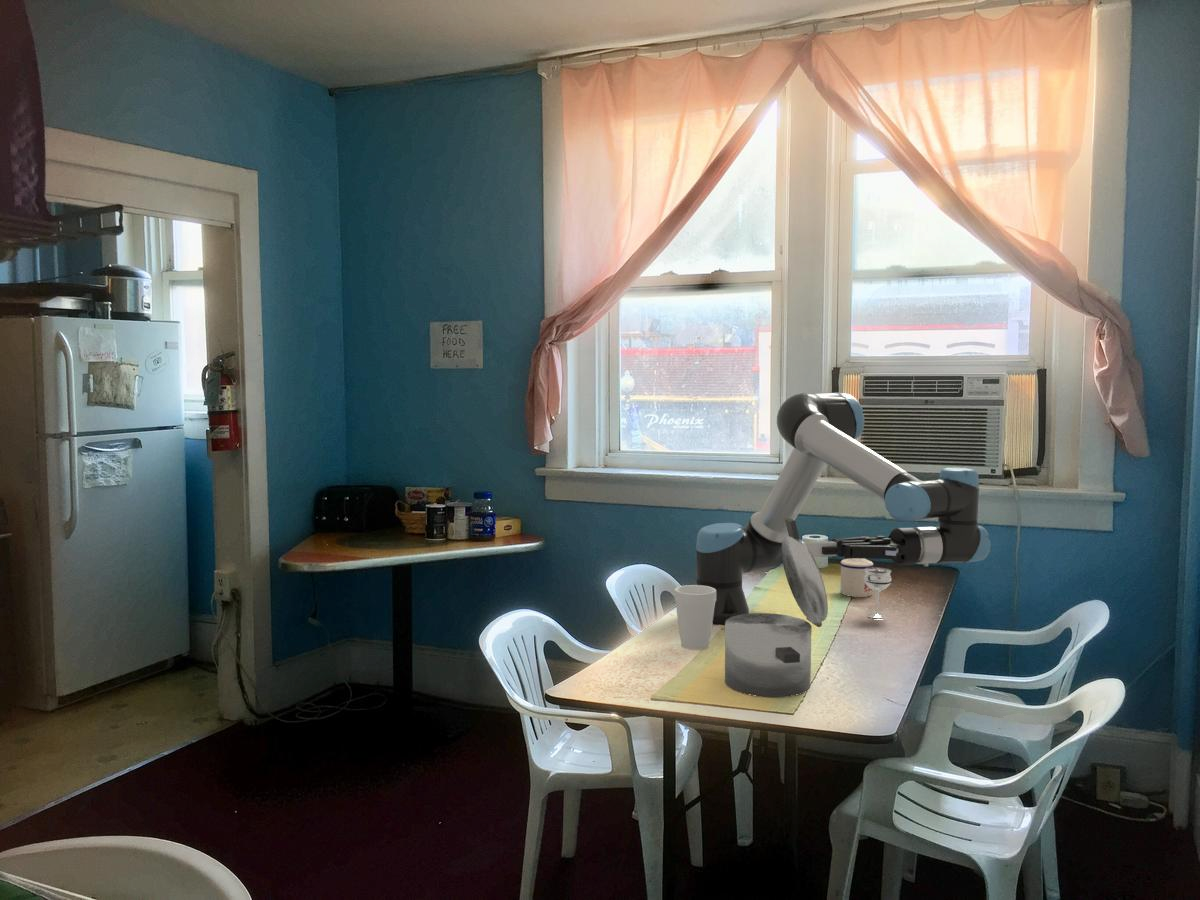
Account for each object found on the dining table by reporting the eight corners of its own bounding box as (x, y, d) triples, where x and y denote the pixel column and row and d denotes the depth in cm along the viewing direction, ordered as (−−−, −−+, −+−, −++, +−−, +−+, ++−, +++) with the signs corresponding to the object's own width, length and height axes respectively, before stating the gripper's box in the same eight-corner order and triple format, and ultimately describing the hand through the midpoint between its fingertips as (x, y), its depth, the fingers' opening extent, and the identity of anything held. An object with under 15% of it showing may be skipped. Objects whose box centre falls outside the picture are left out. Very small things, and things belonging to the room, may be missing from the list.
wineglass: (869, 611, 241) (870, 566, 240) (894, 616, 237) (895, 570, 236) (858, 617, 236) (859, 570, 235) (884, 621, 232) (885, 574, 231)
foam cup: (682, 653, 206) (682, 595, 205) (668, 641, 215) (668, 586, 214) (722, 649, 209) (722, 593, 208) (706, 638, 218) (707, 584, 217)
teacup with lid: (871, 599, 255) (872, 557, 254) (837, 596, 258) (838, 555, 257) (875, 589, 266) (876, 549, 265) (842, 587, 269) (843, 547, 268)
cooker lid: (795, 613, 196) (800, 611, 196) (830, 637, 178) (836, 635, 179) (770, 514, 193) (775, 512, 194) (804, 528, 176) (810, 526, 176)
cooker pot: (783, 660, 201) (784, 606, 200) (834, 702, 175) (835, 640, 174) (707, 664, 198) (708, 609, 197) (748, 708, 172) (748, 645, 171)
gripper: (930, 571, 183) (817, 575, 179) (897, 557, 196) (791, 561, 192) (931, 533, 182) (818, 537, 178) (898, 522, 195) (791, 525, 191)
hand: (804, 549), depth 185 cm, fingers closed
